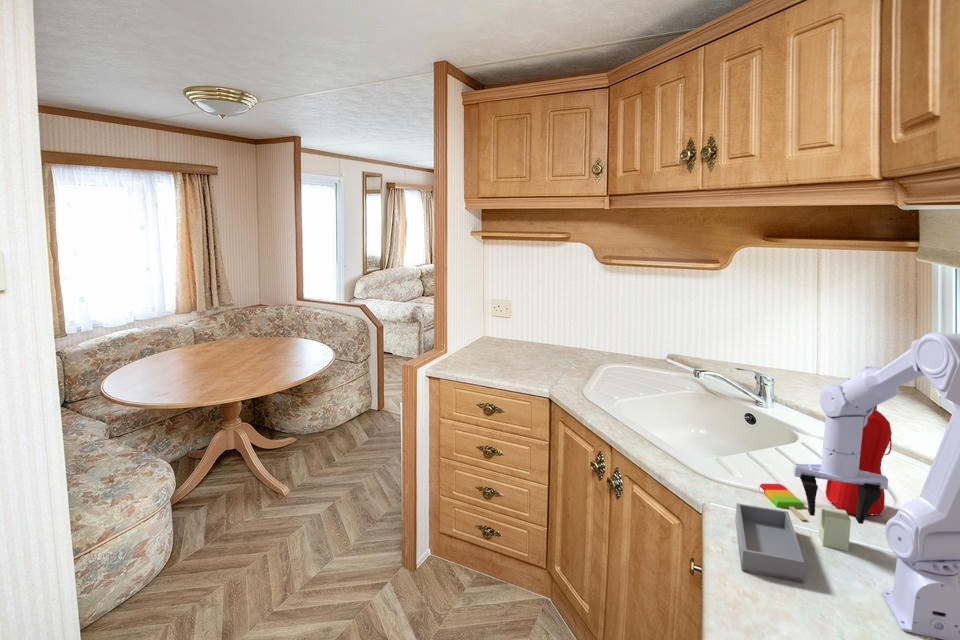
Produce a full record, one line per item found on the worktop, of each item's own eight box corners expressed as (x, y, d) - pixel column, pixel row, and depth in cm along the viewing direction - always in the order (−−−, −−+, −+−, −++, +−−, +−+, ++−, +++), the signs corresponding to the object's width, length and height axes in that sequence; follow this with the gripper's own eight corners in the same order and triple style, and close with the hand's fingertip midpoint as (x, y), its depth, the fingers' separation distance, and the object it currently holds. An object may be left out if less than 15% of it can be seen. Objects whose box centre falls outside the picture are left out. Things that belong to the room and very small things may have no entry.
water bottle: (899, 519, 108) (912, 401, 105) (843, 517, 109) (854, 400, 106) (870, 497, 117) (881, 389, 114) (818, 496, 118) (828, 388, 115)
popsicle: (781, 490, 122) (782, 483, 122) (818, 524, 107) (819, 516, 107) (757, 490, 123) (757, 482, 122) (790, 524, 108) (790, 515, 108)
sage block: (848, 550, 97) (851, 520, 96) (822, 546, 99) (825, 516, 98) (842, 539, 101) (845, 510, 100) (818, 535, 102) (820, 506, 102)
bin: (802, 583, 88) (804, 562, 87) (741, 570, 92) (743, 550, 91) (786, 529, 105) (788, 511, 104) (735, 520, 108) (736, 503, 108)
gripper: (882, 446, 98) (874, 514, 100) (793, 436, 104) (787, 500, 106) (895, 460, 92) (886, 533, 94) (799, 449, 97) (793, 517, 99)
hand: (834, 517), depth 99 cm, fingers open, 7 cm apart
